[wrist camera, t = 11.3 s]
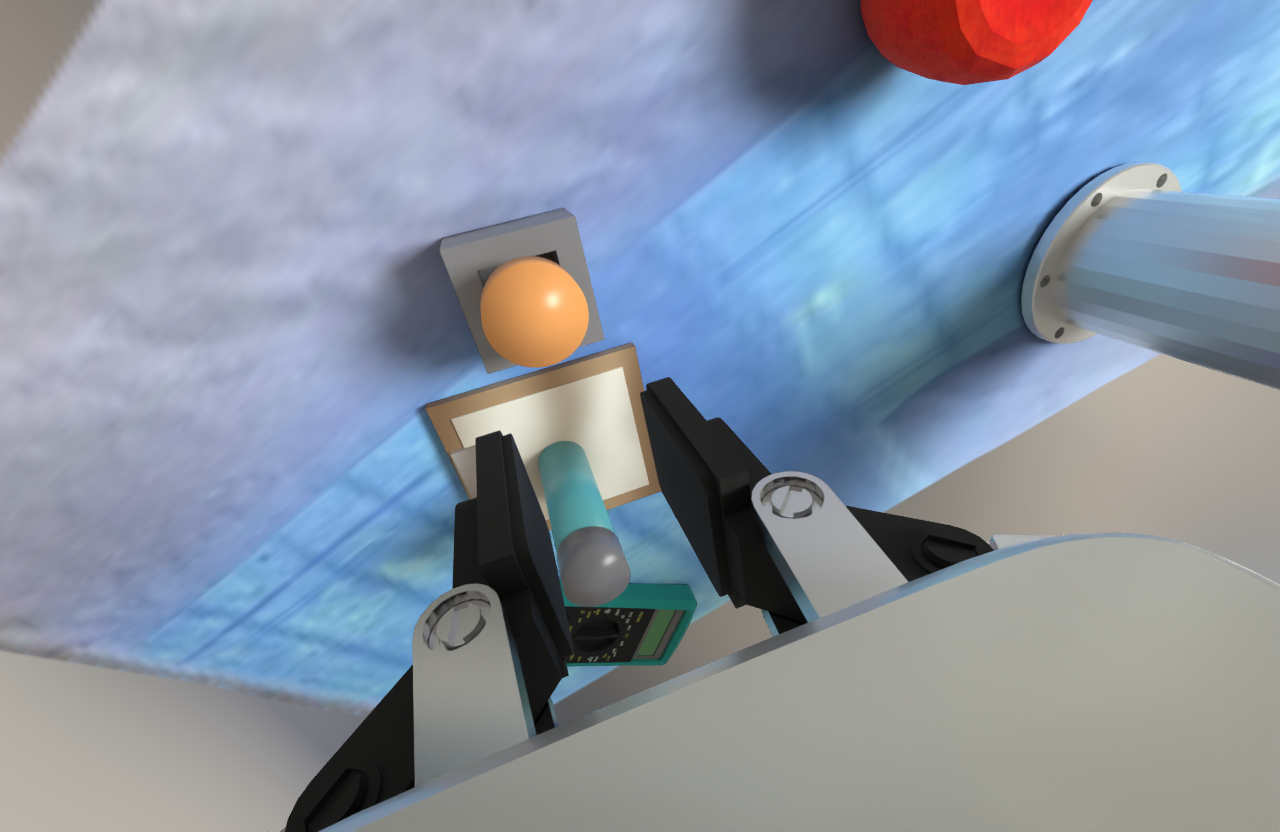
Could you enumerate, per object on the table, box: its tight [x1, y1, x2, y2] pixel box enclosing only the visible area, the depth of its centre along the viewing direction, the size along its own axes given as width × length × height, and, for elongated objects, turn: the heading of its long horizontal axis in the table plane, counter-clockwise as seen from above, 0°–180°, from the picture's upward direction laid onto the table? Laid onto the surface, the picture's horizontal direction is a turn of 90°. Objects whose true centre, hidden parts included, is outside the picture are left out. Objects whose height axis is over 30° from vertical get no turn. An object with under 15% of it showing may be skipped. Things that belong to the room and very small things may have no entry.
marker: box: [538, 441, 630, 607], centre depth 27 cm, size 3×3×10 cm
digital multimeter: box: [559, 579, 697, 666], centre depth 39 cm, size 7×15×3 cm, turn 69°
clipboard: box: [426, 343, 662, 530], centre depth 31 cm, size 12×11×1 cm
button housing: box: [439, 208, 604, 374], centre depth 25 cm, size 6×6×3 cm
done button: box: [480, 256, 589, 367], centre depth 23 cm, size 4×4×4 cm
